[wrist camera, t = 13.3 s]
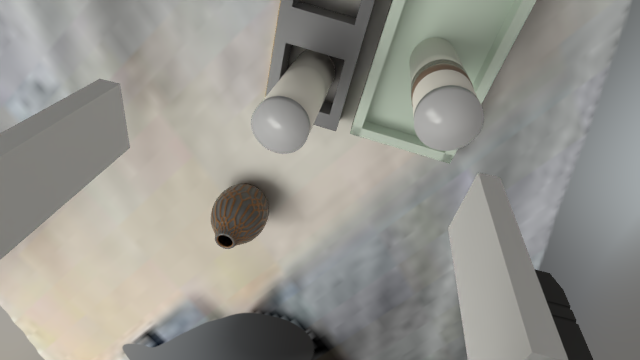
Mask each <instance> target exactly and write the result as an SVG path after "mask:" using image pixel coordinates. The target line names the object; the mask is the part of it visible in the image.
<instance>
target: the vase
mask: <svg viewBox="0 0 640 360" xmlns="http://www.w3.org/2000/svg"><path fill="white" fill-rule="evenodd" d="M268 214H269V206H268V202H267V199H266V197H265V196H264V194H263V193H262V192H261V191H260V190H259V189H257V188H256V187H254V186H251V185H248V184H237V185H234V186H231V187H229V188H228V189H226V190H225V191H224V192H222V193H221V195H220V196H219V197H218V198H217V200H216V201H215V203H214V206H213V208H212V213H211V224H212V228H213V230H214V233H215V241H216V243H217V244H218V245H219V246H220V247H222V248H225V249H230V248H233V247H234V246H236V245H240V244H244V243H247V242H250V241H251V240H253V239H254V238H255V237H257V236H258V235H259V234H260V233H261V231H262V230H263V228H264V226H265V224H266V222H267V219H268Z"/></svg>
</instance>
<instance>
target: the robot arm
mask: <svg viewBox="0 0 640 360" xmlns="http://www.w3.org/2000/svg"><path fill="white" fill-rule="evenodd" d="M129 148H130V145H129V138H128V132H127V126H126V119H125V113H124V106H123V100H122V93H121V87H120V84H119V83H115V82H111V81H107V80H103V79H99V80H97V81H95V82H93V83H91V84H90V85H88V86H86V87H84V88H82V89H80V90H79V91H77V92H75V93H73V94H71V95H69V96H68V97H66V98H64V99H62V100H60V101H59V102H57V103H55V104H53V105H51V106H49V107H48V108H46V109H44V110H42V111H40V112H39V113H37V114H35V115H33V116H31V117H29V118H28V119H26V120H24V121H22V122H20V123H18V124H17V125H15V126H13V127H11V128H9V129H8V130H6V131H4V132H2V133H0V259H2V258H3V257H4V256H5V255H6V254H7V253H9V252H10V251H11V250H12V249H13V248H14V247H15V246H17V245H18V244H19V243H20V242H21V241H22V240H24V239H25V238H26V237H27V236H28V235H29V234H31V233H32V232H33V231H34V230H35V229H36V228H37V227H39V226H40V225H41V224H42V223H43V222H44V221H46V220H47V219H48V218H49V217H50V216H51V215H53V214H54V213H55V212H56V211H57V210H58V209H59V208H61V207H62V206H63V205H64V204H65V203H66V202H68V201H69V200H70V199H71V198H72V197H73V196H74V195H76V194H77V193H78V192H79V191H80V190H81V189H83V188H84V187H85V186H86V185H87V184H88V183H90V182H91V181H92V180H93V179H94V178H95V177H96V176H98V175H99V174H100V173H101V172H102V171H103V170H105V169H106V168H107V167H108V166H109V165H110V164H112V163H113V162H114V161H115V160H116V159H117V158H118V157H120V156H121V155H122V154H123V153H124V152H125V151H127V150H128V149H129ZM448 230H449V237H450V243H451V250H452V257H453V263H454V270H455V277H456V283H457V290H458V297H459V303H460V310H461V317H462V323H463V330H464V337H465V343H466V350H467V357H468V360H593V358H592V356H591V353H590V351H589V349H588V346H587V344H586V342H585V340H584V337H583V335H582V332H581V330H580V328H579V325H578V324H576V319H575V317H574V314H573V312H572V310H570V305H569V302H568V300H567V298H566V295H565V293H564V291H563V289H562V288H561V287H560V285H559V284H558V283H557V282H556V280H555V279H554V278H553V277H552V276H551V274H550V273H546V272H542V271H539V270H535V269H534V267H533V264H532V261H531V259H530V256H529V253H528V251H527V248H526V245H525V243H524V240H523V237H522V235H521V232H520V229H519V227H518V224H517V221H516V219H515V216H514V213H513V211H512V208H511V205H510V203H509V200H508V197H507V195H506V192H505V189H504V187H503V184H502V181H501V179H500V178H499V177H495V176H491V175H487V174H483V173H479V172H478V174H477V176H476V178H475V180H474V181H473V183H472V185H471V187H470V189H469V191H468V192H467V194H466V196H465V198H464V200H463V202H462V204H461V205H460V207H459V209H458V211H457V213H456V215H455V217H454V218H453V220H452V222H451V224H450V226H449V228H448Z"/></svg>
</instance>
